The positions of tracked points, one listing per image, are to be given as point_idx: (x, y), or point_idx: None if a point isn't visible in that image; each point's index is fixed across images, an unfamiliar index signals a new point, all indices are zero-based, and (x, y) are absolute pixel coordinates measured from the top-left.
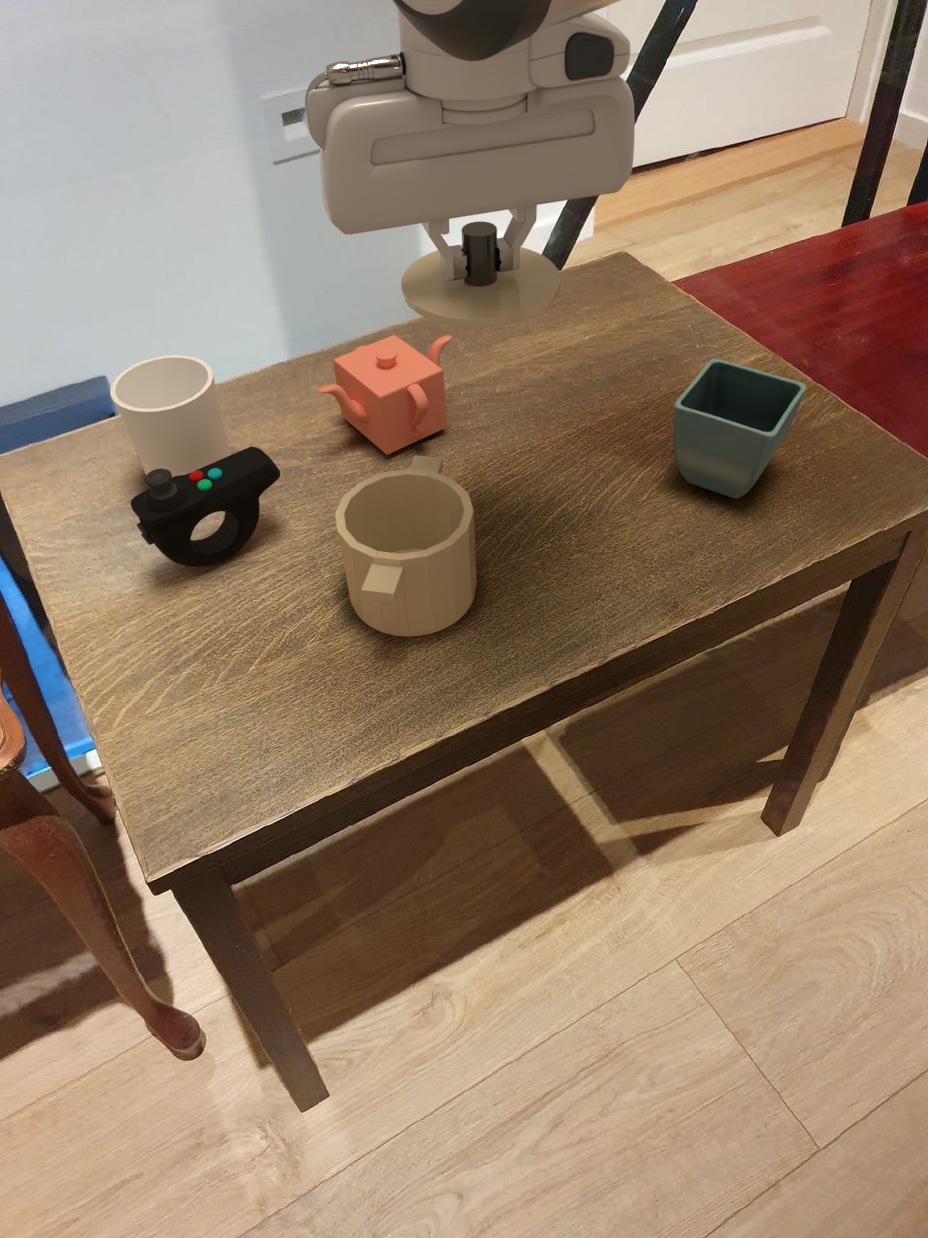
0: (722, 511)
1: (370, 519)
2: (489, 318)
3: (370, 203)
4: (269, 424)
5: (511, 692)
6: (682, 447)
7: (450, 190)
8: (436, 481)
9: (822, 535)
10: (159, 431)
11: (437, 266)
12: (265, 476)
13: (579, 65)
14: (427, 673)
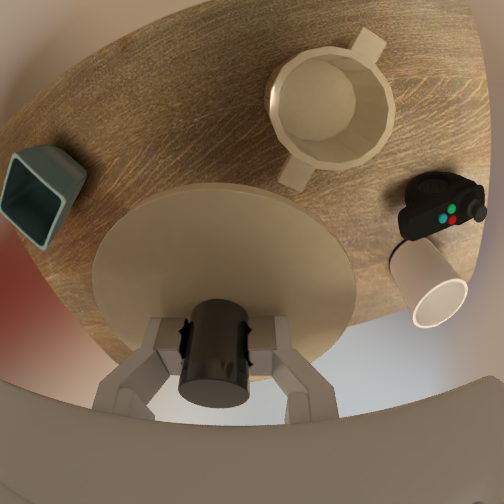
0: (71, 139)
1: (346, 147)
2: (231, 191)
3: (478, 433)
4: (356, 291)
5: None
6: (75, 178)
7: (297, 488)
8: (294, 144)
9: (29, 114)
10: (450, 269)
11: None
12: (412, 210)
13: None
14: (321, 23)
